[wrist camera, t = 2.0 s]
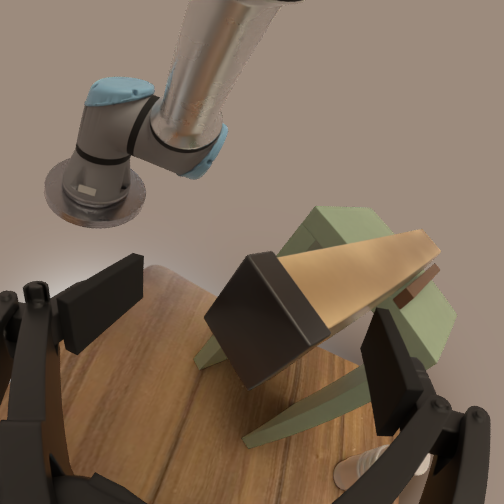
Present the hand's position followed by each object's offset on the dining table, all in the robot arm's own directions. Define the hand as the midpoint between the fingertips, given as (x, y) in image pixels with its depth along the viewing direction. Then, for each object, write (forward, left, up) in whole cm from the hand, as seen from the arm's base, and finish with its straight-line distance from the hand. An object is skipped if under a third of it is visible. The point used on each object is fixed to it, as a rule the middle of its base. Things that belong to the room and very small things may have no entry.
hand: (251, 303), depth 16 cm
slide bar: (+2, +7, +2) cm, 8 cm away
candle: (+25, +22, -28) cm, 44 cm away
